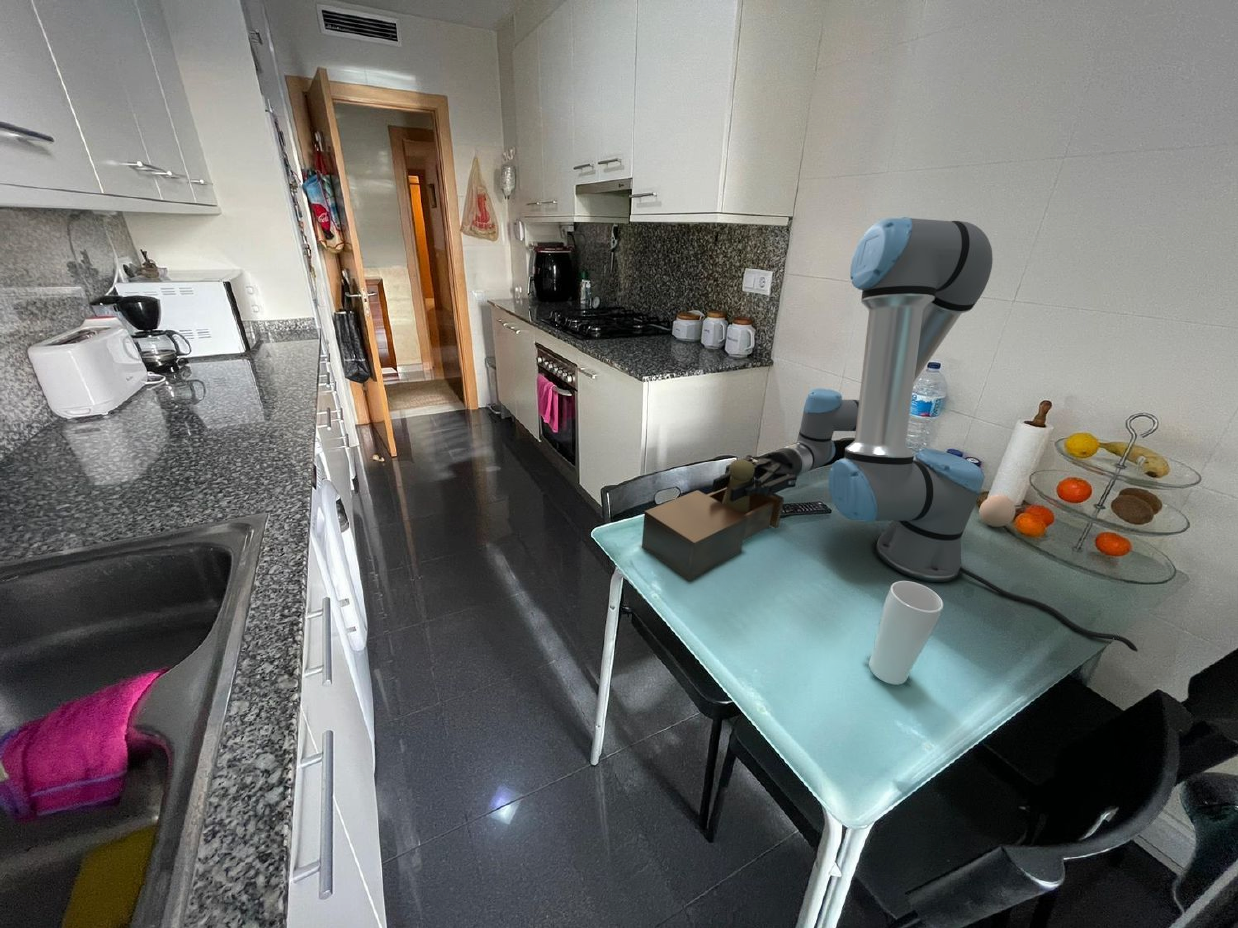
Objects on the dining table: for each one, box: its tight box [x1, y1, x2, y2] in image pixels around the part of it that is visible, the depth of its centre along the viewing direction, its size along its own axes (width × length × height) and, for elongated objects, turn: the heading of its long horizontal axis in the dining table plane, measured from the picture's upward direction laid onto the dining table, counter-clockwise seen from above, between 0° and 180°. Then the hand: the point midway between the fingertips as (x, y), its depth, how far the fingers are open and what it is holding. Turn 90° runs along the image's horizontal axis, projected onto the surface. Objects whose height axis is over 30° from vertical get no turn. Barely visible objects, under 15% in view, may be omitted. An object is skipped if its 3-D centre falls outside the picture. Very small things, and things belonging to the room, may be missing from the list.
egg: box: [978, 494, 1016, 528], centre depth 116 cm, size 7×7×8 cm
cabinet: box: [641, 489, 748, 582], centre depth 101 cm, size 16×14×9 cm
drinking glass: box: [868, 580, 944, 686], centre depth 73 cm, size 7×7×15 cm
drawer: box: [706, 487, 785, 542], centre depth 111 cm, size 19×12×7 cm, turn 129°
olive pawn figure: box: [722, 459, 755, 515], centre depth 106 cm, size 6×6×11 cm
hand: (723, 490), depth 103 cm, fingers closed on olive pawn figure, 4 cm apart
